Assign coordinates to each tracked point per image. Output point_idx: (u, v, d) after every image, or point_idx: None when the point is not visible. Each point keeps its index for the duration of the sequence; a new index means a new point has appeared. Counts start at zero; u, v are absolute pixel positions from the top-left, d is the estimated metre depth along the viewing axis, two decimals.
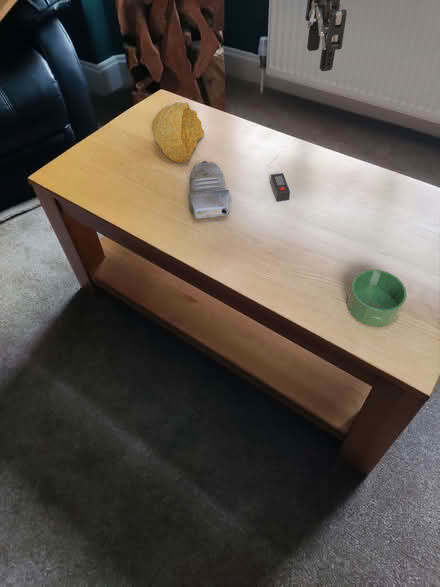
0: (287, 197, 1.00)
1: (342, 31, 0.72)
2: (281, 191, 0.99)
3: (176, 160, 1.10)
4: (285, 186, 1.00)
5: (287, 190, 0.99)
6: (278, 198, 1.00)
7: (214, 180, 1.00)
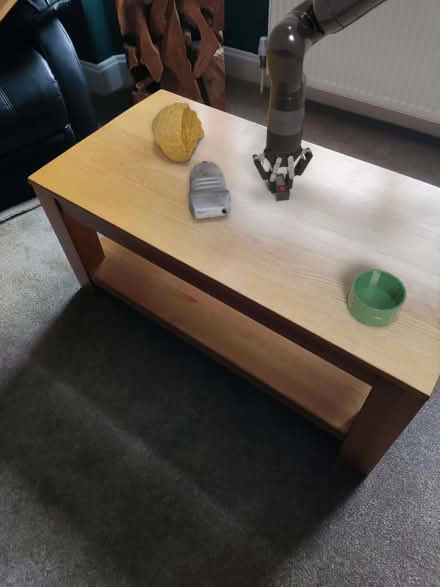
0: (287, 197, 1.00)
1: None
2: (281, 191, 0.99)
3: (176, 160, 1.10)
4: (285, 186, 1.00)
5: (287, 190, 0.99)
6: (278, 198, 1.00)
7: (214, 180, 1.00)
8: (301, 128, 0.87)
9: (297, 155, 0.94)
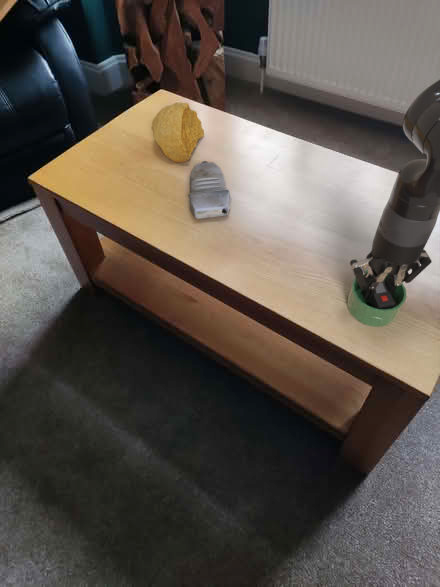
0: None
1: (357, 280, 0.72)
2: (383, 302, 0.75)
3: (176, 160, 1.10)
4: (387, 294, 0.76)
5: (391, 301, 0.75)
6: None
7: (214, 180, 1.00)
8: (429, 236, 0.64)
9: None
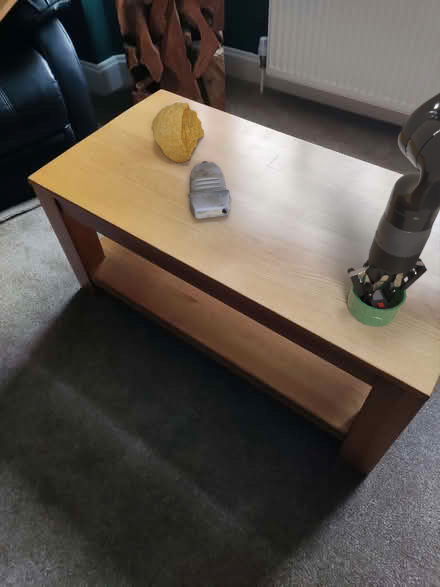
0: None
1: None
2: None
3: (176, 160, 1.10)
4: (384, 301, 0.78)
5: (387, 308, 0.77)
6: None
7: (214, 180, 1.00)
8: (424, 246, 0.66)
9: (407, 270, 0.72)
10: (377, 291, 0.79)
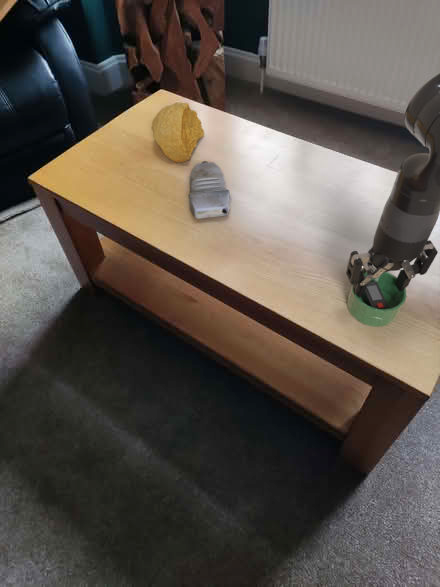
0: None
1: (352, 273, 0.71)
2: None
3: (176, 160, 1.10)
4: (383, 302, 0.78)
5: (387, 308, 0.77)
6: None
7: (214, 180, 1.00)
8: None
9: (413, 258, 0.70)
10: (376, 291, 0.79)
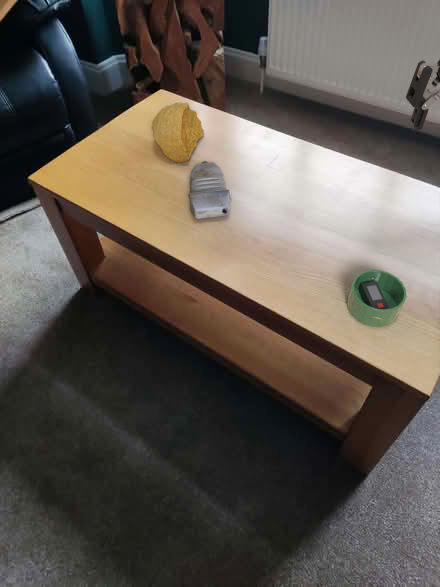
0: None
1: (417, 88, 0.64)
2: None
3: (176, 160, 1.10)
4: (383, 302, 0.78)
5: (387, 308, 0.77)
6: None
7: (214, 180, 1.00)
8: None
9: None
10: (376, 291, 0.79)
